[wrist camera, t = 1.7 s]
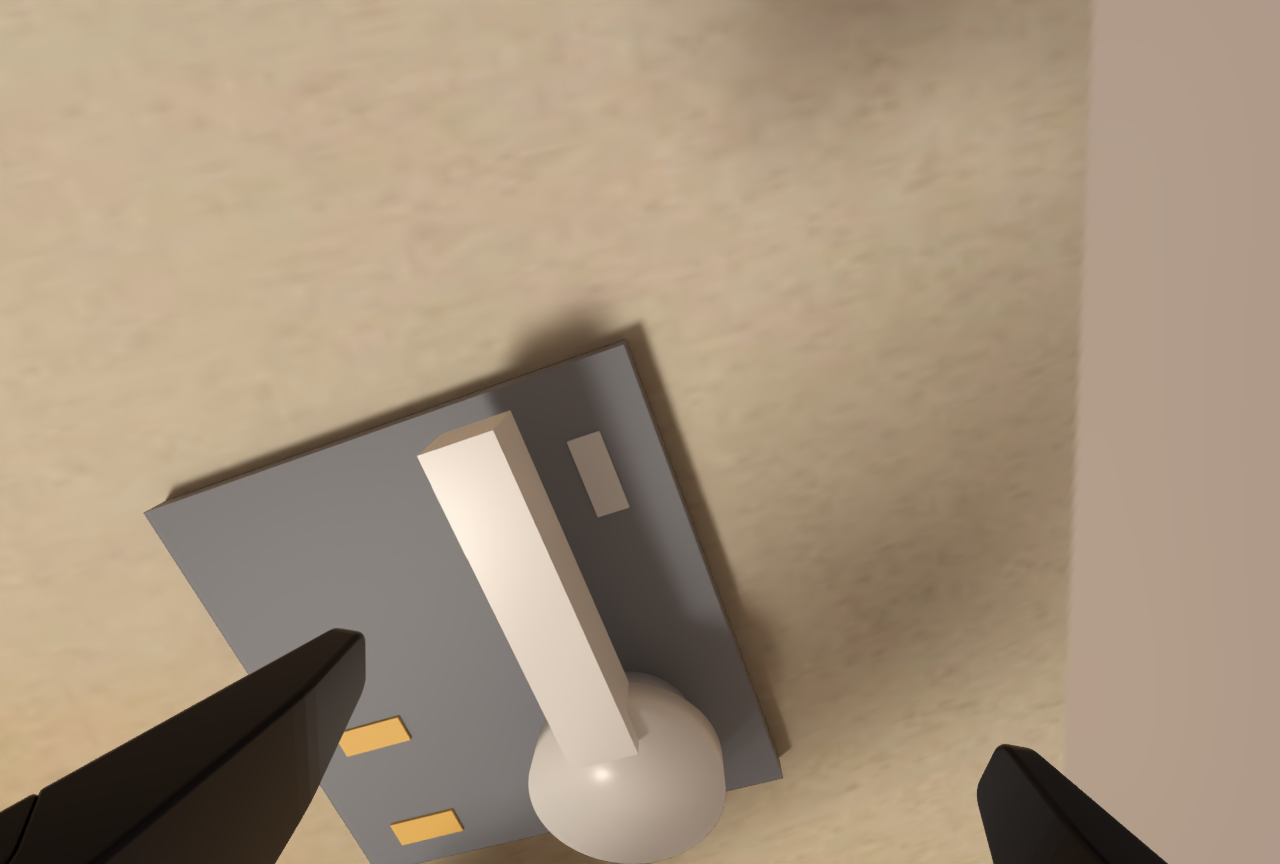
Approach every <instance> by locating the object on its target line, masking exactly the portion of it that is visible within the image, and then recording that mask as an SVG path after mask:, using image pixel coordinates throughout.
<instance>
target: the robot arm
mask: <svg viewBox="0 0 1280 864" xmlns="http://www.w3.org/2000/svg"><path fill="white" fill-rule="evenodd" d="M365 680H366V641H365V636H364V634H363V633H361V632H359V631H354V630H348V629H342V628H334V629H331V630H329V631H327V632H325V633H323V634H321V635H319V636H318V637H316V638H314V639H312V640H310V641H309V642H307V643H305V644H303V645H301V646H300V647H298V648H296V649H294V650H292V651H291V652H289V653H287V654H285V655H283V656H281V657H280V658H278V659H276V660H274V661H272V662H271V663H269V664H267V665H265V666H263V667H262V668H260V669H258V670H256V671H254V672H253V673H251V674H249V675H247V676H245V677H244V678H242V679H240V680H238V681H236V682H234V683H233V684H231V685H229V686H227V687H225V688H224V689H222V690H220V691H218V692H216V693H215V694H213V695H211V696H209V697H207V698H206V699H204V700H202V701H200V702H198V703H197V704H195V705H193V706H191V707H189V708H187V709H186V710H184V711H182V712H180V713H178V714H177V715H175V716H173V717H171V718H169V719H168V720H166V721H164V722H162V723H160V724H159V725H157V726H155V727H153V728H151V729H150V730H148V731H146V732H144V733H142V734H141V735H139V736H137V737H135V738H133V739H131V740H130V741H128V742H126V743H124V744H122V745H121V746H119V747H117V748H115V749H113V750H112V751H110V752H108V753H106V754H104V755H103V756H101V757H99V758H97V759H95V760H94V761H92V762H90V763H88V764H86V765H84V766H83V767H81V768H79V769H77V770H75V771H74V772H72V773H70V774H68V775H66V776H65V777H63V778H61V779H59V780H57V781H56V782H54V783H52V784H50V785H48V786H47V787H45V788H43V789H42V790H41V791H40V793H39V795H35V794H32V795H30V796H28V797H26V798H24V799H23V800H21V801H19V802H17V803H15V804H14V805H12V806H10V807H8V808H6V809H4V810H3V811H1V812H0V864H275V863H276V861H277V860H278V858H279V856H280V854H281V853H282V851H283V849H284V848H285V846H286V844H287V843H288V841H289V839H290V838H291V836H292V834H293V833H294V831H295V829H296V827H297V826H298V824H299V822H300V821H301V819H302V817H303V815H304V814H305V812H306V810H307V808H308V806H309V805H310V803H311V801H312V799H313V797H314V795H315V793H316V791H317V789H318V787H319V785H320V783H321V780H322V778H323V776H324V774H325V772H326V770H327V768H328V765H329V763H330V761H331V759H332V757H333V755H334V753H335V750H336V748H337V746H338V744H339V742H340V740H341V738H342V735H343V733H344V731H345V729H346V727H347V725H348V723H349V720H350V718H351V716H352V714H353V712H354V710H355V708H356V705H357V703H358V701H359V699H360V697H361V694H362V692H363V689H364V685H365ZM977 801H978V806H979V810H980V814H981V818H982V822H983V825H984V829H985V833H986V837H987V841H988V844H989V848H990V852H991V856H992V860H993V863H994V864H1168V863H1166V862H1165V861H1164V860H1163V859H1162V858H1160V857H1159V856H1158V855H1157V854H1156V853H1155V852H1153V851H1152V850H1151V849H1150V848H1149V847H1148V846H1146V845H1145V844H1144V843H1143V842H1142V841H1140V840H1139V839H1138V838H1137V837H1136V836H1135V835H1133V834H1132V833H1131V832H1130V831H1129V830H1127V829H1126V828H1125V827H1124V826H1123V825H1122V824H1120V823H1119V822H1118V821H1117V820H1116V819H1115V818H1113V817H1112V816H1111V815H1110V814H1109V813H1107V812H1106V811H1105V810H1104V809H1103V808H1102V807H1100V806H1099V805H1098V804H1097V803H1096V802H1095V801H1093V800H1092V799H1091V798H1090V797H1089V796H1087V795H1086V794H1085V793H1084V792H1083V791H1082V790H1080V789H1079V788H1078V787H1077V786H1076V785H1074V784H1073V783H1072V782H1071V781H1070V780H1069V779H1067V778H1066V777H1065V776H1064V775H1063V774H1062V773H1060V772H1059V771H1058V770H1057V769H1056V768H1055V767H1053V766H1052V765H1051V764H1050V763H1049V762H1047V761H1046V760H1045V759H1044V758H1043V757H1042V756H1040V755H1039V754H1038V753H1037V752H1035V751H1034V750H1032V749H1029V748H1026V747H1020V746H1014V745H1009V744H1002V745H1000V746H998V747H997V748H996V749H995V751H994V753H993V755H992V757H991V759H990V761H989V763H988V765H987V767H986V769H985V771H984V773H983V775H982V777H981V779H980V781H979V784H978V788H977Z"/></svg>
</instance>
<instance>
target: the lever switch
mask: <svg viewBox="0 0 1280 864" xmlns="http://www.w3.org/2000/svg"><path fill="white" fill-rule="evenodd" d="M417 457H418V459H419V462H420V464H421V466H422V468H423V470H424V472H425V474H426V476H427V478H428V480H429V482H430V484H431V486H432V488H433V490H434V492H435V494H436V496H437V498H438V500H439V502H440V504H441V506H442V508H443V510H444V512H445V514H446V516H447V518H448V520H449V522H450V524H451V527H452V529H453V531H454V533H455V535H456V537H457V539H458V541H459V543H460V545H461V547H462V549H463V551H464V553H465V555H466V557H467V559H468V561H469V563H470V565H471V567H472V569H473V571H474V573H475V575H476V577H477V579H478V581H479V583H480V585H481V587H482V589H483V591H484V594H485V596H486V598H487V600H488V602H489V604H490V606H491V608H492V610H493V612H494V614H495V616H496V618H497V620H498V622H499V624H500V626H501V628H502V630H503V632H504V634H505V636H506V638H507V640H508V642H509V644H510V646H511V648H512V650H513V652H514V654H515V656H516V659H517V661H518V663H519V665H520V667H521V669H522V671H523V673H524V675H525V677H526V679H527V681H528V683H529V685H530V687H531V689H532V691H533V693H534V695H535V697H536V699H537V701H538V703H539V705H540V707H541V709H542V711H543V713H544V715H545V717H546V721H545V722H544V724H543V726H542V728H541V731H540V733H539V736H538V740H537V744H536V748H535V752H534V756H533V760H532V764H531V768H530V772H529V780H528V787H529V795H530V799H531V803H532V805H533V808H534V810H535V812H536V814H537V816H538V817H539V819H540V820H541V822H542V823H543V824H544V826H545V827H546V828H547V829H548V830H549V831H550V832H551V833H552V834H553V835H554V836H555V837H556V838H557V839H559V840H560V841H561V842H563V843H564V844H565V845H567V846H569V847H571V848H572V849H574V850H576V851H578V852H580V853H582V854H585V855H587V856H590V857H593V858H596V859H599V860H604V861H608V862H614V863H622V864H642V863H651V862H657V861H661V860H665V859H669V858H672V857H674V856H677V855H679V854H682V853H683V852H685V851H687V850H689V849H691V848H692V847H694V846H695V845H697V844H698V843H699V842H701V841H702V840H703V839H704V838H705V837H706V836H707V835H708V834H709V833H710V832H711V830H712V829H713V828H714V827H715V825H716V823H717V822H718V820H719V818H720V816H721V813H722V811H723V808H724V803H725V796H726V786H725V776H724V766H723V756H722V749H721V745H720V741H719V738H718V736H717V734H716V732H715V730H714V728H713V726H712V725H711V723H710V722H709V720H708V719H707V718H706V717H705V716H704V715H703V713H702V712H701V711H700V710H699V709H697V708H696V707H695V706H694V705H693V704H691V703H690V702H688V701H687V700H685V699H684V698H682V697H681V696H679V695H677V694H675V693H672V692H670V691H668V690H665V689H662V688H659V687H656V686H652V685H647V684H641V683H633V682H628V679H627V677H626V675H625V672H624V670H623V668H622V666H621V663H620V661H619V659H618V656H617V654H616V652H615V649H614V647H613V645H612V643H611V640H610V638H609V636H608V633H607V631H606V629H605V627H604V624H603V622H602V620H601V617H600V615H599V613H598V610H597V608H596V606H595V604H594V601H593V599H592V597H591V594H590V592H589V590H588V587H587V585H586V583H585V581H584V578H583V576H582V574H581V571H580V569H579V567H578V565H577V562H576V560H575V558H574V555H573V553H572V551H571V548H570V546H569V544H568V542H567V539H566V537H565V535H564V532H563V530H562V528H561V525H560V523H559V521H558V519H557V516H556V514H555V512H554V509H553V507H552V505H551V503H550V500H549V498H548V496H547V493H546V491H545V489H544V486H543V484H542V482H541V480H540V477H539V475H538V473H537V470H536V468H535V466H534V463H533V461H532V459H531V457H530V454H529V452H528V450H527V447H526V445H525V443H524V441H523V438H522V436H521V434H520V431H519V429H518V427H517V424H516V422H515V420H514V418H513V415H512V413H511V411H507V412H504V413H501V414H498V415H495V416H492V417H489V418H486V419H483V420H480V421H478V422H475V423H472V424H469V425H466V426H463V427H460V428H457V429H454V430H451V431H449V432H446V433H443V434H441V435H440V436H438V437H437V438H436V439H435V440H434V441H433V442H432V443H431V444H430V445H429V446H427V447H426V448H425V449H424V450H423V451H422V452H421V453H420V454H419V455H417Z"/></svg>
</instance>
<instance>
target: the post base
mask: <svg viewBox="0 0 1280 864" xmlns="http://www.w3.org/2000/svg"><path fill="white" fill-rule="evenodd" d="M507 411H511V413H512V415H513V418H514V420H515V422H516V424H517V427H518V429H519V431H520V434H521V436H522V438H523V441H524V443H525V445H526V447H527V450H528V452H529V454H530V457H531V459H532V461H533V463H534V466H535V468H536V470H537V473H538V475H539V477H540V480H541V482H542V484H543V486H544V489H545V491H546V493H547V496H548V498H549V500H550V503H551V505H552V507H553V509H554V512H555V514H556V516H557V519H558V521H559V523H560V525H561V528H562V530H563V532H564V535H565V537H566V539H567V542H568V544H569V546H570V548H571V551H572V553H573V555H574V558H575V560H576V562H577V565H578V567H579V569H580V571H581V574H582V576H583V578H584V581H585V583H586V585H587V587H588V590H589V592H590V594H591V597H592V599H593V601H594V604H595V606H596V608H597V610H598V613H599V615H600V617H601V620H602V622H603V624H604V627H605V629H606V631H607V633H608V636H609V638H610V640H611V643H612V645H613V647H614V649H615V652H616V654H617V656H618V659H619V661H620V663H621V666H622V668H623V670H624V672H625V675H626V677H627V679H628V682H633V683H641V684H647V685H652V686H656V687H659V688H662V689H665V690H668V691H670V692H672V693H675V694H677V695H679V696H681V697H682V698H684V699H685V700H687V701H688V702H690V703H691V704H693V705H694V706H695V707H696V708H697V709H699V710H700V711H701V712H702V713H703V715H704V716H705V717H706V718H707V719H708V720H709V722H710V723H711V725H712V726H713V728H714V730H715V732H716V734H717V736H718V738H719V741H720V745H721V749H722V756H723V766H724V776H725V786H726V791H730V790H734V789H739V788H743V787H747V786H752V785H756V784H760V783H764V782H769V781H773V780H777V779H782V778H783V775H782V770H781V765H780V760H779V757H778V754H777V751H776V749H775V746H774V743H773V740H772V738H771V735H770V732H769V729H768V727H767V724H766V721H765V719H764V716H763V713H762V710H761V708H760V705H759V702H758V699H757V697H756V694H755V691H754V688H753V686H752V683H751V680H750V678H749V675H748V672H747V669H746V667H745V664H744V661H743V658H742V656H741V653H740V650H739V648H738V645H737V642H736V639H735V637H734V634H733V631H732V628H731V626H730V623H729V620H728V617H727V615H726V612H725V609H724V607H723V604H722V601H721V598H720V596H719V593H718V590H717V587H716V585H715V582H714V579H713V576H712V574H711V571H710V568H709V566H708V563H707V560H706V557H705V555H704V552H703V549H702V546H701V544H700V541H699V538H698V536H697V533H696V530H695V527H694V525H693V522H692V519H691V516H690V514H689V511H688V508H687V505H686V503H685V500H684V497H683V495H682V492H681V489H680V486H679V484H678V481H677V478H676V475H675V473H674V470H673V467H672V465H671V462H670V459H669V456H668V454H667V451H666V448H665V445H664V443H663V440H662V437H661V434H660V432H659V429H658V426H657V424H656V421H655V418H654V415H653V413H652V410H651V407H650V404H649V402H648V399H647V396H646V394H645V391H644V388H643V385H642V383H641V380H640V377H639V374H638V372H637V369H636V366H635V363H634V361H633V358H632V355H631V353H630V350H629V347H628V344H627V342H626V339H625V340H622V341H619V342H616V343H614V344H611V345H608V346H605V347H602V348H599V349H596V350H594V351H591V352H588V353H585V354H582V355H579V356H577V357H574V358H571V359H568V360H565V361H562V362H560V363H557V364H554V365H551V366H548V367H545V368H542V369H540V370H537V371H534V372H531V373H528V374H525V375H523V376H520V377H517V378H514V379H511V380H508V381H506V382H503V383H500V384H497V385H494V386H491V387H488V388H486V389H483V390H480V391H477V392H474V393H471V394H469V395H466V396H463V397H460V398H457V399H454V400H452V401H449V402H446V403H443V404H440V405H437V406H435V407H432V408H429V409H426V410H423V411H420V412H417V413H415V414H412V415H409V416H406V417H403V418H400V419H398V420H395V421H392V422H389V423H386V424H383V425H381V426H378V427H375V428H372V429H369V430H366V431H363V432H361V433H358V434H355V435H352V436H349V437H346V438H344V439H341V440H338V441H335V442H332V443H329V444H327V445H324V446H321V447H318V448H315V449H312V450H309V451H307V452H304V453H301V454H298V455H295V456H292V457H290V458H287V459H284V460H281V461H278V462H275V463H273V464H270V465H267V466H264V467H261V468H258V469H256V470H253V471H250V472H247V473H244V474H241V475H238V476H236V477H233V478H230V479H227V480H224V481H221V482H219V483H216V484H213V485H210V486H207V487H204V488H202V489H199V490H196V491H193V492H190V493H187V494H184V495H182V496H179V497H176V498H173V499H170V500H167V501H165V502H163V503H161V504H159V505H157V506H155V507H153V508H152V509H150V510H148V511H146V512H144V514H145V516H146V518H147V519H148V521H149V522H150V524H151V525H152V527H153V528H154V530H155V531H156V533H157V534H158V536H159V538H160V539H161V541H162V542H163V544H164V545H165V547H166V548H167V550H168V551H169V553H170V555H171V556H172V558H173V559H174V561H175V562H176V564H177V565H178V567H179V568H180V570H181V572H182V573H183V575H184V576H185V578H186V579H187V581H188V582H189V584H190V585H191V587H192V589H193V590H194V592H195V593H196V595H197V596H198V598H199V599H200V601H201V602H202V604H203V605H204V607H205V609H206V610H207V612H208V613H209V615H210V616H211V618H212V619H213V621H214V622H215V624H216V626H217V627H218V629H219V630H220V632H221V633H222V635H223V636H224V638H225V639H226V641H227V643H228V644H229V646H230V647H231V649H232V650H233V652H234V653H235V655H236V656H237V658H238V660H239V661H240V663H241V664H242V666H243V667H244V669H245V670H246V672H247V673H248V675H249V674H251V673H253V672H254V671H256V670H258V669H260V668H262V667H263V666H265V665H267V664H269V663H271V662H272V661H274V660H276V659H278V658H280V657H281V656H283V655H285V654H287V653H289V652H291V651H292V650H294V649H296V648H298V647H300V646H301V645H303V644H305V643H307V642H309V641H310V640H312V639H314V638H316V637H318V636H319V635H321V634H323V633H325V632H327V631H329V630H331V629H334V628H342V629H348V630H354V631H359V632H361V633H363V634H364V636H365V641H366V680H365V685H364V689H363V692H362V694H361V697H360V699H359V701H358V703H357V705H356V708H355V710H354V712H353V714H352V716H351V718H350V720H349V723H348V725H347V727H346V729H345V731H344V733H343V735H342V738H341V740H340V742H339V744H338V746H337V748H336V750H335V753H334V755H333V757H332V759H331V761H330V763H329V765H328V768H327V770H326V772H325V774H324V776H323V778H322V780H321V783H320V786H321V788H322V789H323V791H324V792H325V794H326V795H327V797H328V798H329V800H330V801H331V803H332V805H333V806H334V808H335V809H336V811H337V812H338V814H339V815H340V817H341V818H342V820H343V822H344V823H345V825H346V826H347V828H348V829H349V831H350V832H351V834H352V835H353V837H354V839H355V840H356V842H357V843H358V845H359V846H360V848H361V849H362V851H363V852H364V854H365V855H366V857H367V859H368V860H369V862H370V863H371V864H418V863H422V862H426V861H431V860H435V859H439V858H443V857H448V856H452V855H456V854H461V853H465V852H469V851H473V850H478V849H482V848H486V847H490V846H495V845H499V844H503V843H508V842H512V841H516V840H520V839H525V838H529V837H533V836H538V835H542V834H546V833H550V831H549V830H548V829H547V828H546V827H545V826H544V824H543V823H542V822H541V820H540V819H539V817H538V816H537V814H536V812H535V810H534V808H533V805H532V803H531V799H530V795H529V787H528V780H529V772H530V768H531V764H532V760H533V756H534V752H535V748H536V744H537V740H538V736H539V733H540V731H541V728H542V726H543V724H544V722H545V721H546V717H545V715H544V713H543V711H542V709H541V707H540V705H539V703H538V701H537V699H536V697H535V695H534V693H533V691H532V689H531V687H530V685H529V683H528V681H527V679H526V677H525V675H524V673H523V671H522V669H521V667H520V665H519V663H518V661H517V659H516V656H515V654H514V652H513V650H512V648H511V646H510V644H509V642H508V640H507V638H506V636H505V634H504V632H503V630H502V628H501V626H500V624H499V622H498V620H497V618H496V616H495V614H494V612H493V610H492V608H491V606H490V604H489V602H488V600H487V598H486V596H485V594H484V591H483V589H482V587H481V585H480V583H479V581H478V579H477V577H476V575H475V573H474V571H473V569H472V567H471V565H470V563H469V561H468V559H467V557H466V555H465V553H464V551H463V549H462V547H461V545H460V543H459V541H458V539H457V537H456V535H455V533H454V531H453V529H452V527H451V524H450V522H449V520H448V518H447V516H446V514H445V512H444V510H443V508H442V506H441V504H440V502H439V500H438V498H437V496H436V494H435V492H434V490H433V488H432V486H431V484H430V482H429V480H428V478H427V476H426V474H425V472H424V470H423V468H422V466H421V464H420V462H419V459H418V457H417V455H419V454H420V453H421V452H422V451H423V450H424V449H425V448H426V447H427V446H429V445H430V444H431V443H432V442H433V441H434V440H435V439H436V438H437V437H438V436H440V435H441V434H443V433H446V432H449V431H451V430H454V429H457V428H460V427H463V426H466V425H469V424H472V423H475V422H478V421H480V420H483V419H486V418H489V417H492V416H495V415H498V414H501V413H504V412H507Z"/></svg>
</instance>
